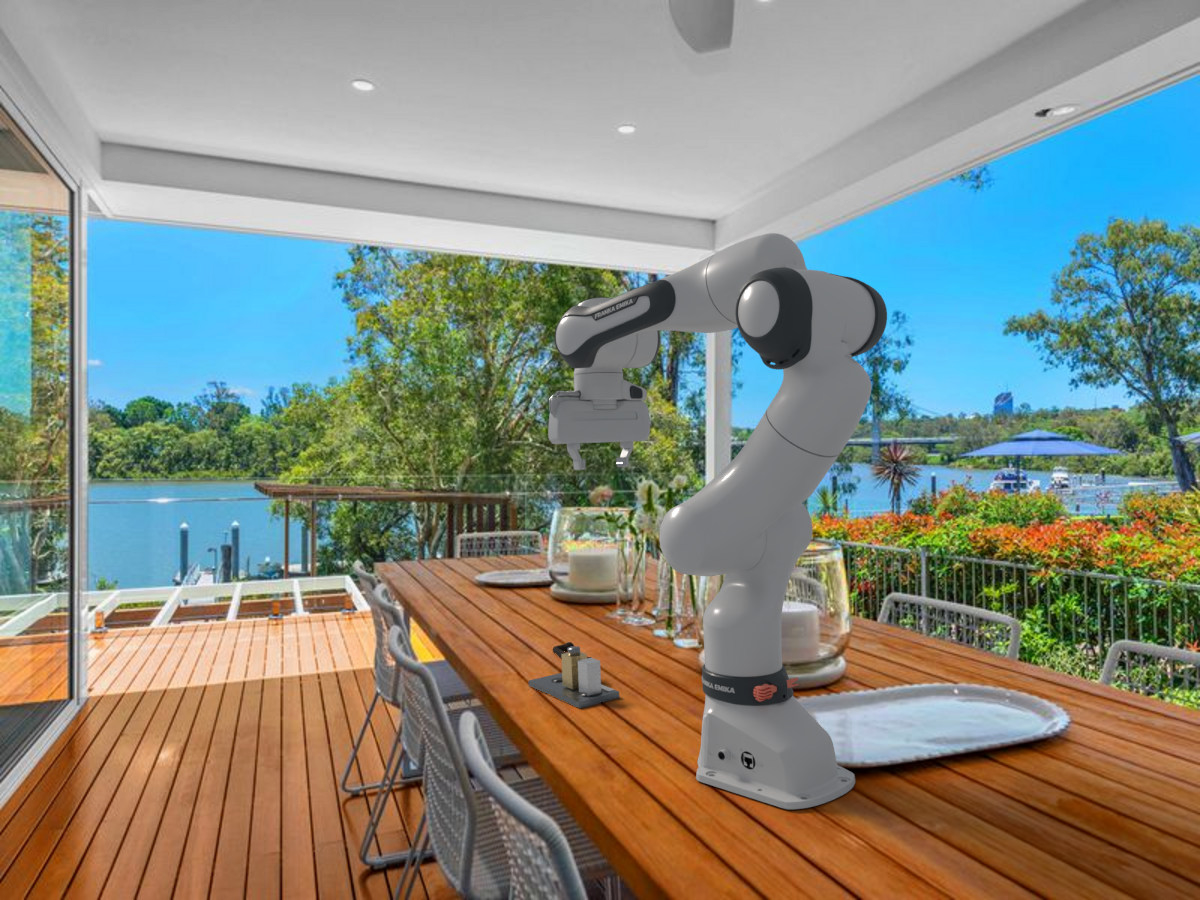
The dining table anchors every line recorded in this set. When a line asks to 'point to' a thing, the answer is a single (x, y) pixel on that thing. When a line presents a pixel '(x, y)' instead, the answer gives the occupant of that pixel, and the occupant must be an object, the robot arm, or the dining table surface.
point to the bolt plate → (569, 692)
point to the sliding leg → (571, 666)
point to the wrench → (563, 649)
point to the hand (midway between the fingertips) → (601, 468)
